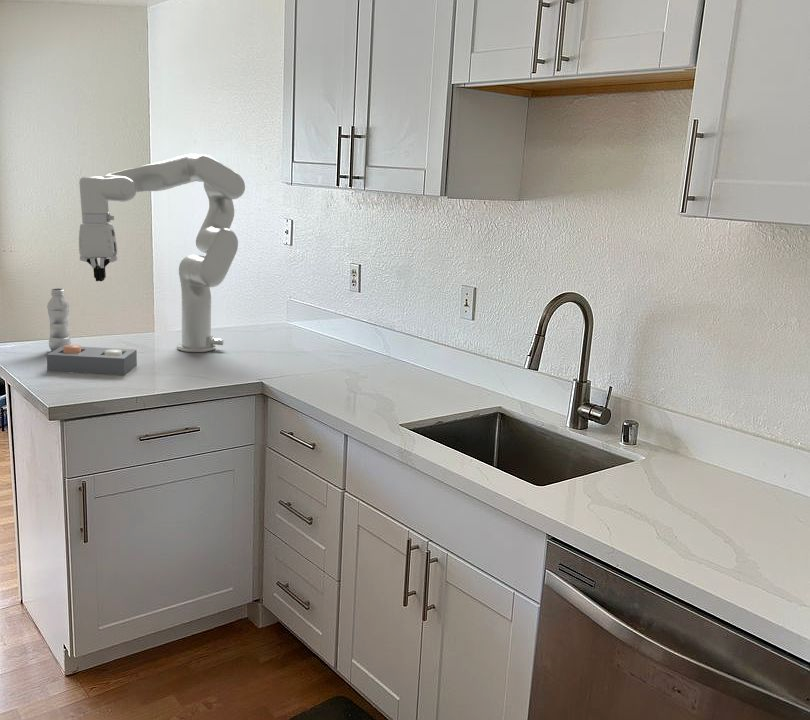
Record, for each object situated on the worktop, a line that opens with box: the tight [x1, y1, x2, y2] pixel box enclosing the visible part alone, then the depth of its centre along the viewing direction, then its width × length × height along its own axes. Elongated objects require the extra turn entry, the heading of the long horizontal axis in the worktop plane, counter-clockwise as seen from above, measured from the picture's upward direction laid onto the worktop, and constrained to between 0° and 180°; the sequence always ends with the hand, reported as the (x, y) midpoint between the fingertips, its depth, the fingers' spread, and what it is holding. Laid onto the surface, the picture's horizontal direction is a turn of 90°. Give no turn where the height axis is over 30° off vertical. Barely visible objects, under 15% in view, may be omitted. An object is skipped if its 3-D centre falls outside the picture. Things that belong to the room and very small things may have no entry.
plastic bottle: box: [46, 288, 72, 352], centre depth 250 cm, size 6×7×20 cm
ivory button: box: [105, 350, 122, 356], centre depth 234 cm, size 5×5×5 cm
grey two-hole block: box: [46, 346, 138, 376], centre depth 234 cm, size 22×12×5 cm, turn 92°
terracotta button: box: [63, 344, 82, 354], centre depth 234 cm, size 5×5×5 cm
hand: (100, 280), depth 239 cm, fingers closed
